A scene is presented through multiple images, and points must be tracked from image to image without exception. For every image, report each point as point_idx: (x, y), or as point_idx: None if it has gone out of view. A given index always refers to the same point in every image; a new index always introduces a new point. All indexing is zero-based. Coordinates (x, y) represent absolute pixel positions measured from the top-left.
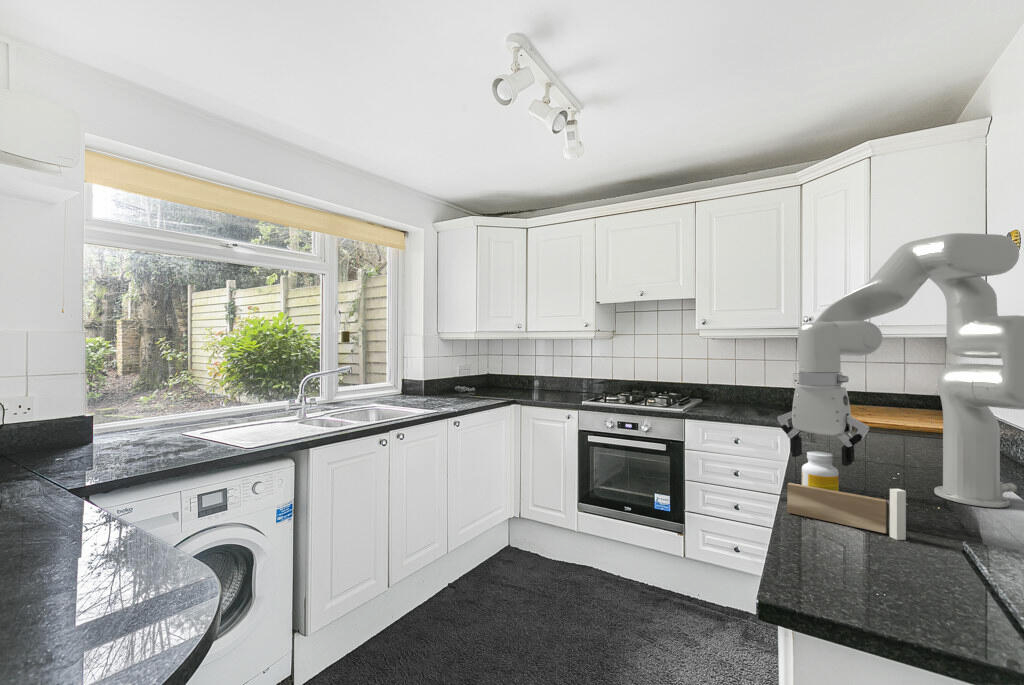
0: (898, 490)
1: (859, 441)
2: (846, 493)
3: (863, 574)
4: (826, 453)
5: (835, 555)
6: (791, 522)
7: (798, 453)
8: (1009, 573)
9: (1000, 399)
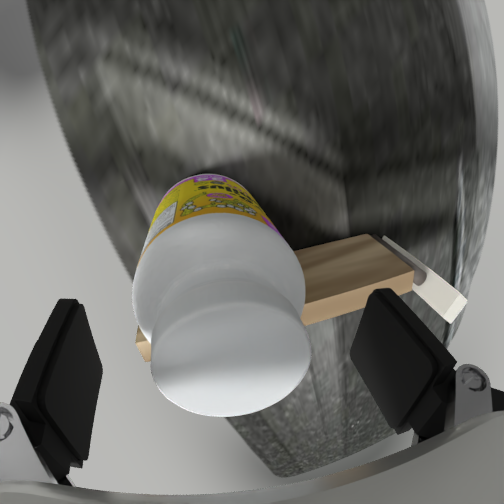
0: (455, 312)
1: (494, 390)
2: (323, 307)
3: (341, 410)
4: (264, 336)
5: (306, 399)
6: None
7: (90, 351)
8: (476, 263)
9: None
